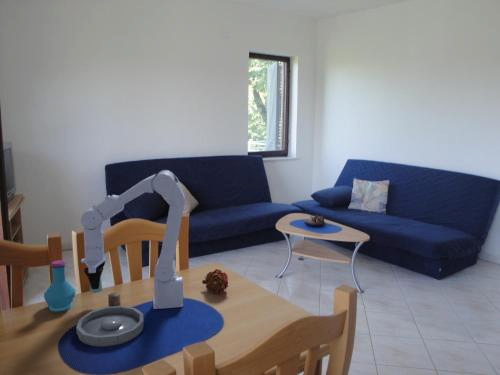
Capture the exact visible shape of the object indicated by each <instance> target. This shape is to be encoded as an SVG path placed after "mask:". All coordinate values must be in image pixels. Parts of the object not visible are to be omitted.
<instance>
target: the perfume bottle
mask: <svg viewBox="0 0 500 375" xmlns="http://www.w3.org/2000/svg"><path fill="white" fill-rule="evenodd" d="M66 264H67V262H66V261H65V260H62V259H59V260H58V259H57V260H54V261H52V262H51V263H50V265H49V266H50V267H51V270H52V282H51V283H50V285H49V286H48V288H46V291H45V292H44V293H43V298H44V301H45V302H46V304H47V306H48V308H49V310H50V311H51V312H62V311H66V310H68V309H70V308H71V307H72V306H73V304H72V303H73V302H74V298H75V295H76V289H75V287H74V286H73V285H71V284H70V283H69V282H68V280H66Z"/></svg>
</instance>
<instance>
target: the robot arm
mask: <svg viewBox="0 0 500 375" xmlns="http://www.w3.org/2000/svg"><path fill="white" fill-rule="evenodd" d="M154 192H156V193H158V194H159V195H160V196H162V197H164V198H165V200H166V201H167V202H168V203H169V208H168V215H167V218H166V225H165V230H164V235H163V240H162V247H161V250H160V254H159V257H158V258H157V260H156V264H155V267H154V270H153V275H154V276H153V287H154V288H153V290H154V291H153V298H152V307H153V310H160V309H172V308H182V307H183V306H184V283H183V282H184V281H183V276H177V274H176V273H175V268H176V264H177V261H176V257H175V255H176V250H177V245H178V240H179V235H180V234H179V233H180V229H181V224H182V218H183V214H184V208H185V203H186V196H185V194H184V190H183V188H182V186H181V184H180V180H179V178H178V177H177V176H176V175H175V174H174V173H173V171H170V170H168V169H162V170H160V171H159V172H158V173H155V174H152V175H151V176H147V177H146V178H144V179H142V180H141V181H139V182H138V183H136V184H135V185H133V186H132V187H131V188H129V189H127V190H126V191H125V192H123V193H121V194H119V195H116V194H112V195H110V194H109V195H107V196H105V197H104V200H102V201H101V202H99V203H97V204H96V203H95V204H93V205H92V206H91V207H90V208H89V209H87V210H86V211H84V212H83V213H82V215H81V217H80V223H81V225H82V226H83V241H84V242H83V243H84V258H81V260H80V262H81V263H83V264H85V265H86V266H87V267H85V268H84V269H83V272H84V274H85V275H86V277H87V279H88V282H89V287H90V286H91V289H99V285H100V277H101V278H102V273H103V271H104V266H105V265H106V258H105V250H104V249H105V246H104V245H105V244H104V228H103V222H104V221H105V222H106V221H108V220H109V219H111V218H113V217H114V216H115V215H117V214H119V213H120V212H122V211H123V210H124V209H125V205H126V204H128V203H129V202H131V201H132V200H134V199H136V198H139V197H140V196H141V195H143V194H145V193H148V194H153V193H154Z"/></svg>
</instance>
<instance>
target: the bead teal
mask: <svg viewBox="0 0 500 375" xmlns="http://www.w3.org/2000/svg"><path fill="white" fill-rule="evenodd" d="M102 291H103V284H102V276H101V277H100V285H99V289H91V286H90V285H89V292H90V293H93V294H96V293H101V292H102Z"/></svg>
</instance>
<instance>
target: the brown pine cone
mask: <svg viewBox="0 0 500 375" xmlns="http://www.w3.org/2000/svg"><path fill="white" fill-rule="evenodd" d="M228 278H229V277H228V275H227V273H226V272H223V271H222V270H221V269H217V268H216V269H214V270H213V271H209V272H208V273H206V275H205V276H204V279H202V280H201V281H202V282H201V284H202V285H205V288H206V290H208V291H209V292H212V293H214V294H218V293H219V294H221V293H223V292H224V291H225V290H226V289H227V288H228V287H229V281H228V280H229V279H228Z"/></svg>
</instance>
